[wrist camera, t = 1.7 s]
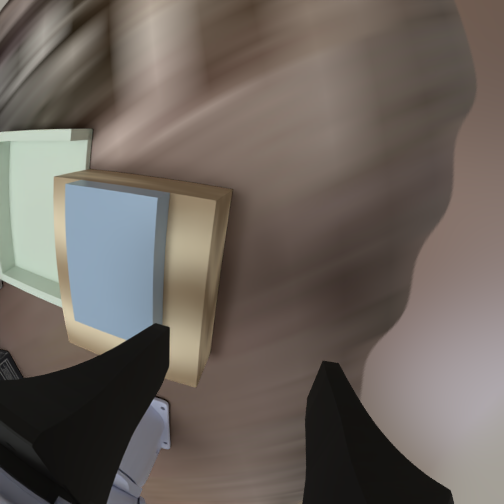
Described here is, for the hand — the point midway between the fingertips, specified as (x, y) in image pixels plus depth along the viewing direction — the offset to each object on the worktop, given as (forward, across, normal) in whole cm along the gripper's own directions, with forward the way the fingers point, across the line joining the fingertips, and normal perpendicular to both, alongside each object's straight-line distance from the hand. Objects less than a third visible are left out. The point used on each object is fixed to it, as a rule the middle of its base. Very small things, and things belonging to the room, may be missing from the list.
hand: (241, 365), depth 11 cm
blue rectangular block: (+6, +8, 0) cm, 10 cm away
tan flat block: (+10, +8, +2) cm, 13 cm away
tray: (+10, +20, 0) cm, 22 cm away
